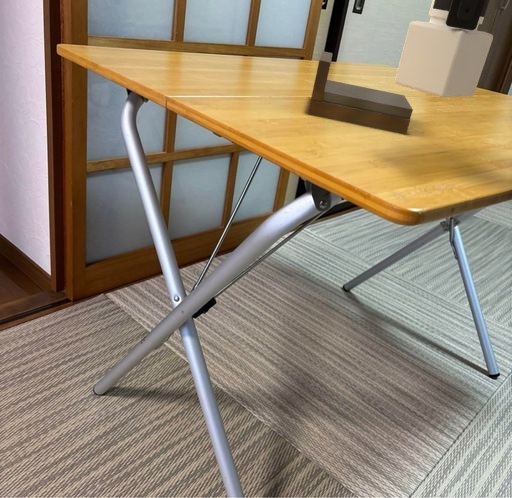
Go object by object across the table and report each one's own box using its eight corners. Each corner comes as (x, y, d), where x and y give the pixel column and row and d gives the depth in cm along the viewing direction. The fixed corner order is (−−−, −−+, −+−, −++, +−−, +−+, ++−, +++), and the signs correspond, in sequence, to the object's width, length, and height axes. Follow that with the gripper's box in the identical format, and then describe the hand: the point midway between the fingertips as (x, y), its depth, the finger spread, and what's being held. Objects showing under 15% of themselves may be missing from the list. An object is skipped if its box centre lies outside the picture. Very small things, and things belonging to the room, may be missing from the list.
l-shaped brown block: (397, 116, 94) (411, 69, 90) (405, 135, 82) (422, 80, 78) (312, 99, 95) (322, 51, 91) (307, 114, 83) (319, 59, 79)
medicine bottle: (474, 97, 63) (511, -12, 57) (442, 98, 58) (479, -20, 53) (425, 83, 67) (455, -19, 62) (392, 83, 63) (421, -27, 57)
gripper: (584, -185, 43) (506, 37, 51) (521, -139, 59) (469, 26, 67) (494, -198, 44) (431, 24, 52) (455, -149, 59) (411, 16, 67)
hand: (452, 24), depth 59 cm, fingers closed on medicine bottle, 7 cm apart
